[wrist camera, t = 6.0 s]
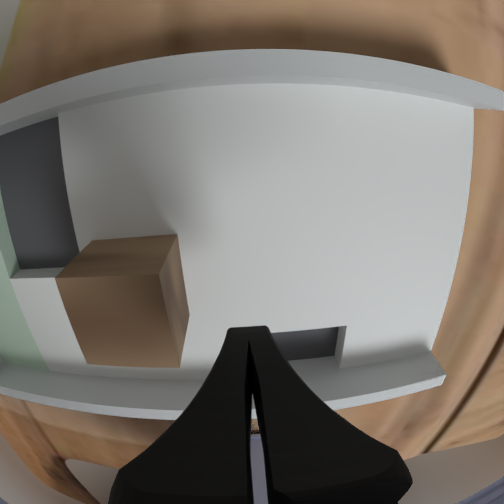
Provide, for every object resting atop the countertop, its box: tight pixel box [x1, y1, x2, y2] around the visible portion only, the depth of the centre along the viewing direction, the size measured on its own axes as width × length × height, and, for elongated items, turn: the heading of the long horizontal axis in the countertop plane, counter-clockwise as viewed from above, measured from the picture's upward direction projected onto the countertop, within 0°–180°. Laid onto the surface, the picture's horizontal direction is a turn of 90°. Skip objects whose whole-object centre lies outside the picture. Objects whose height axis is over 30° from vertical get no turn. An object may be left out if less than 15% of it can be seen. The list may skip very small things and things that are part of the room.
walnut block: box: [55, 234, 190, 368], centre depth 13 cm, size 4×4×4 cm
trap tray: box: [0, 49, 504, 420], centre depth 14 cm, size 18×33×4 cm, turn 92°
